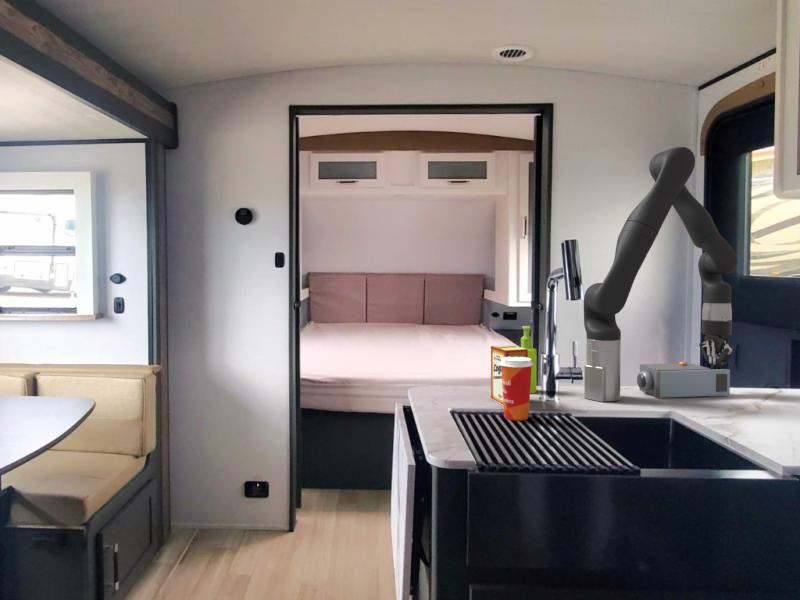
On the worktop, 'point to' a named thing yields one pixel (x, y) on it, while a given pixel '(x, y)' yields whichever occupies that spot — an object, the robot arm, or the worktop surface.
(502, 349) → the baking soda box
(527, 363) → the coffee cup
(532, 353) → the soap dispenser
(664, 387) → the side door
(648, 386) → the camera housing
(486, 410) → the worktop surface
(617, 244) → the robot arm
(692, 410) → the worktop surface
